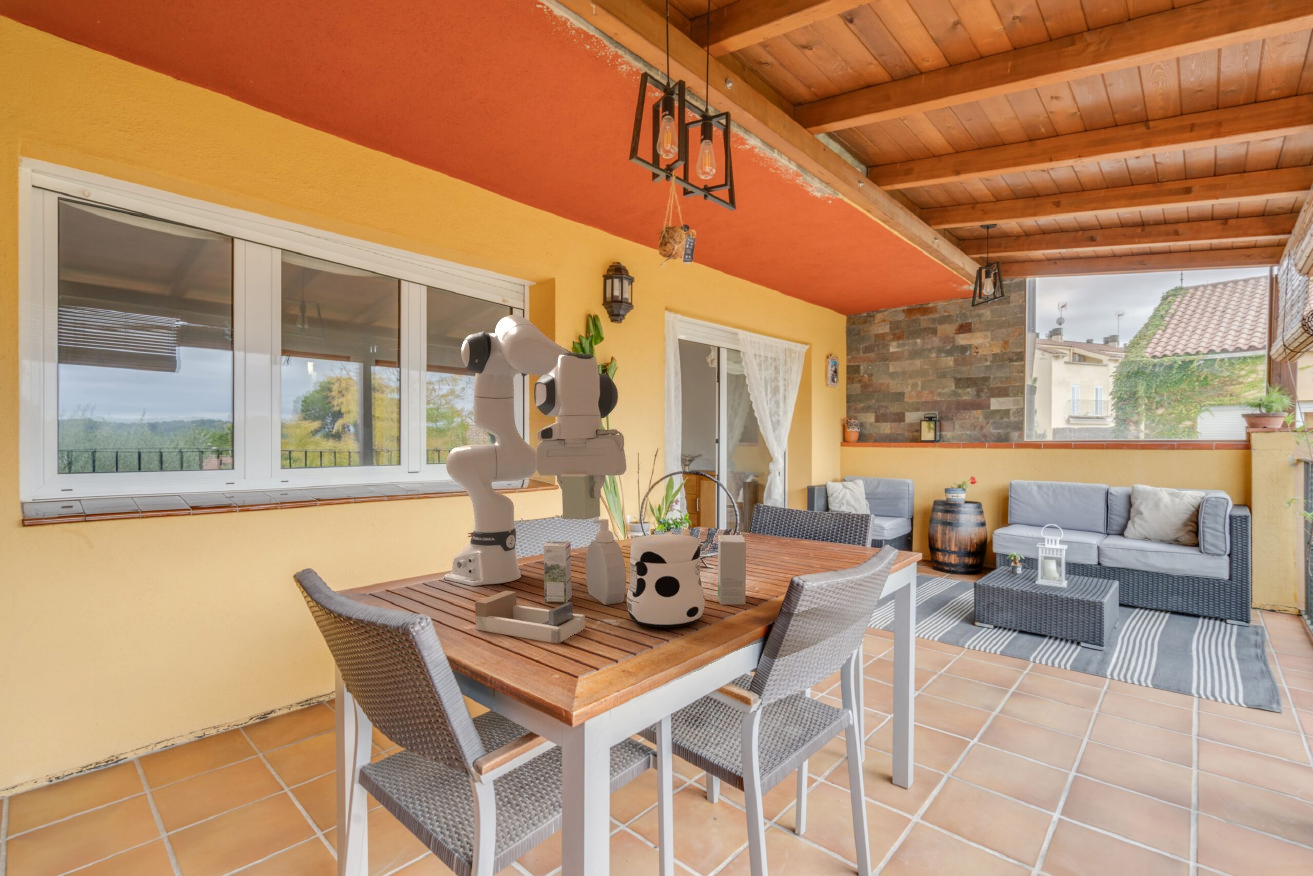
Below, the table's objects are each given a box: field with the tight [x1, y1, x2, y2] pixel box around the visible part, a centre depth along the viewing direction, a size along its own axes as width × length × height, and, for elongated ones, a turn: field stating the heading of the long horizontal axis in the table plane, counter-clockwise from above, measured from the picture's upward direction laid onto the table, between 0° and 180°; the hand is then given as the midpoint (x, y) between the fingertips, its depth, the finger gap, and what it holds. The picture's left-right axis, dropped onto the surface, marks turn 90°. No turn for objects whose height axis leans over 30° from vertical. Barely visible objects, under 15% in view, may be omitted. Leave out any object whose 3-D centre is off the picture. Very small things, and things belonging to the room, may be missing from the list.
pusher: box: [542, 601, 574, 627], centre depth 129 cm, size 4×7×6 cm, turn 153°
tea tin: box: [561, 474, 601, 521], centre depth 126 cm, size 6×6×9 cm
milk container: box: [626, 533, 706, 629], centre depth 136 cm, size 17×17×18 cm
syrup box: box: [543, 540, 573, 604], centre depth 154 cm, size 6×6×14 cm
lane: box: [474, 590, 586, 645], centre depth 132 cm, size 22×10×6 cm, turn 63°
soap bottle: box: [585, 518, 627, 606], centre depth 155 cm, size 16×5×20 cm, turn 26°
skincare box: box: [717, 534, 747, 606], centre depth 151 cm, size 8×7×16 cm
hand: (581, 497), depth 126 cm, fingers closed on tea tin, 5 cm apart
